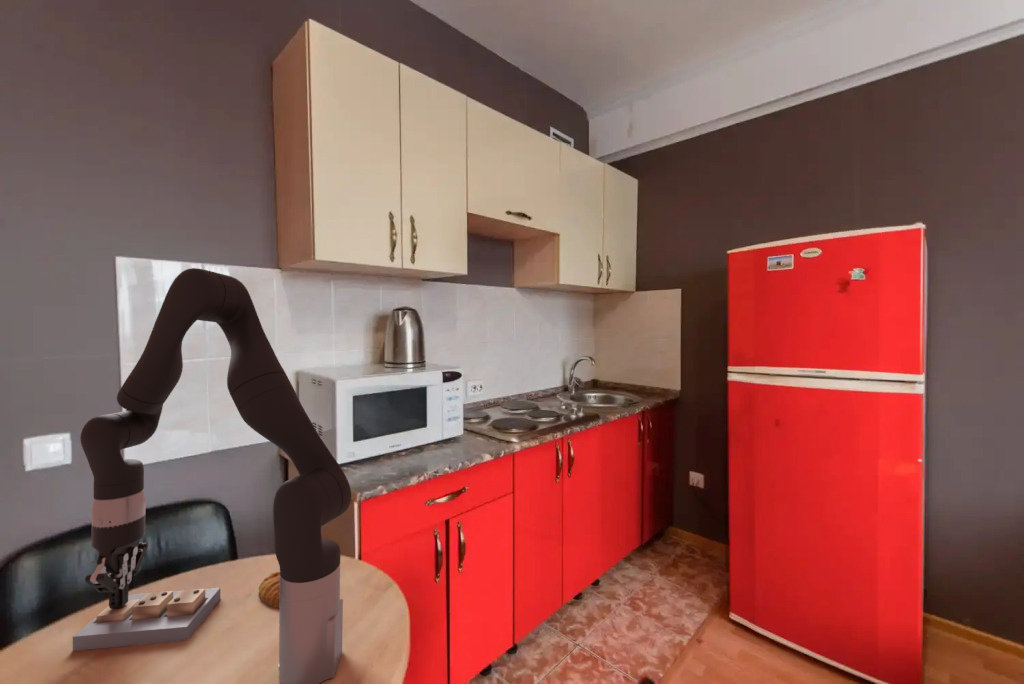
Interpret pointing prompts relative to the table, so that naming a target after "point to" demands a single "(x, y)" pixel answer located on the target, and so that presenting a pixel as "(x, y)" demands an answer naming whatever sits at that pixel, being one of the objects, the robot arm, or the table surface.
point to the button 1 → (117, 613)
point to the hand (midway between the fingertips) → (118, 606)
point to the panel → (144, 627)
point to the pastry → (270, 590)
